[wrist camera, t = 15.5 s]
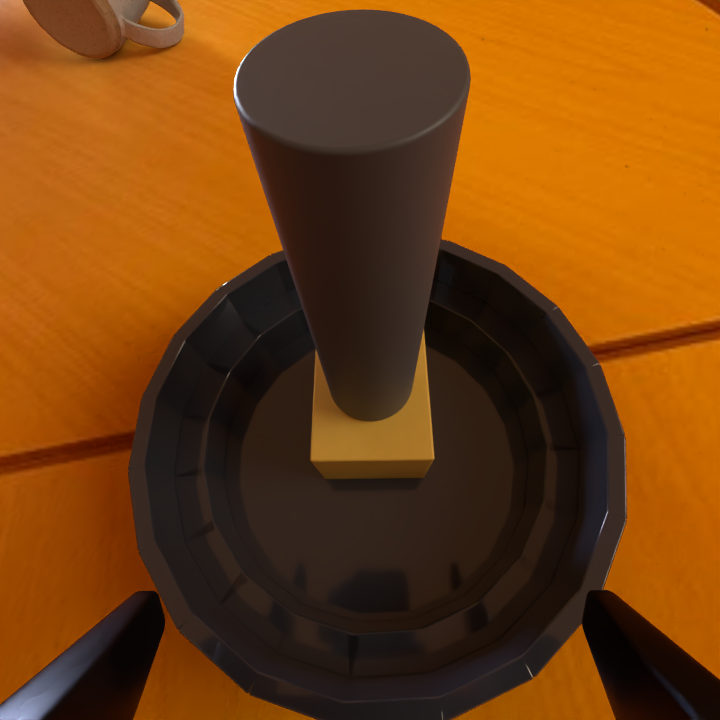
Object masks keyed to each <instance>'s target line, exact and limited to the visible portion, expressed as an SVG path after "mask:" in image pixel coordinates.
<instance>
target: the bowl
mask: <svg viewBox="0 0 720 720" xmlns="http://www.w3.org/2000/svg"><path fill="white" fill-rule="evenodd" d="M424 336H425V349H426V361H427V373H428V385H429V397H430V409H431V422H432V434H433V446H434V460H433V462H432V464H431V465H430V467H429V469H428V471H427V472H426V474H425V476H424V477H423V478H377V479H325V478H324V477H323V476H322V474H321V473H320V472H319V471H318V470H317V468H316V467H315V466H314V465H313V463H312V462H311V460H310V453H311V433H312V413H313V393H314V373H315V353H316V348H315V345H314V342H313V339H312V336H311V333H310V330H309V326H308V323H307V320H306V317H305V314H304V311H303V308H302V305H301V302H300V299H299V296H298V293H297V290H296V287H295V284H294V281H293V278H292V275H291V272H290V269H289V266H288V263H287V260H286V256H285V253H284V250H283V251H280V252H277V253H274V254H271V256H270V255H269V256H267V257H266V258H264V259H263V260H261V261H259V262H258V263H256V264H255V265H253V266H252V267H250V268H248V269H247V270H245V271H244V272H242V273H241V274H239V275H237V276H236V277H234V278H233V279H231V280H230V281H228V282H226V283H225V284H223V285H222V286H220V287H219V289H218V288H217V289H216V290H215V291H214V292H213V293H212V295H211V296H210V297H209V298H208V299H207V300H206V301H205V302H204V303H203V304H202V305H201V306H200V307H199V309H198V310H197V311H196V312H195V313H194V314H193V315H192V316H191V317H190V318H189V319H188V320H187V321H186V323H185V324H184V325H183V326H182V327H181V328H180V329H179V330H178V331H177V332H176V333H175V334H174V336H173V338H172V340H171V341H170V343H169V345H168V347H167V349H166V351H165V353H164V355H163V357H162V359H161V361H160V363H159V365H158V367H157V369H156V370H155V372H154V374H153V376H152V378H151V380H150V382H149V384H148V386H147V388H146V390H145V392H144V394H143V396H142V397H143V398H142V399H141V403H140V409H139V414H138V419H137V425H136V430H135V435H134V440H133V446H132V451H131V456H130V462H129V467H128V470H129V471H128V476H129V484H130V492H131V500H132V507H133V515H134V523H135V531H136V539H137V547H138V550H139V554H140V556H141V558H142V560H143V562H144V564H145V566H146V568H147V570H148V572H149V574H150V576H151V578H152V580H153V582H154V584H155V586H156V588H157V590H158V592H159V594H160V596H161V598H162V600H163V602H164V604H165V606H166V608H167V610H168V612H169V614H170V616H171V618H172V620H173V622H174V624H175V626H176V628H177V629H178V630H179V632H180V633H181V634H182V635H183V636H184V637H186V638H187V639H188V640H189V641H190V642H191V643H192V644H193V645H194V646H195V647H197V648H198V649H199V650H200V651H201V652H202V653H203V654H204V655H205V656H206V657H208V658H209V659H210V660H211V661H212V662H213V663H214V664H215V665H216V666H217V667H219V668H220V669H221V670H222V671H223V672H224V673H225V674H226V675H227V676H228V677H230V678H231V679H232V680H233V681H234V682H235V683H236V684H237V685H238V686H239V687H241V688H242V689H243V690H244V691H245V692H246V693H249V694H250V695H251V696H253V697H256V698H259V699H262V700H264V701H267V702H270V703H273V704H275V705H278V706H281V707H284V708H286V709H289V710H292V711H295V712H297V713H300V714H303V715H306V716H308V717H311V718H314V719H317V720H452V719H454V718H456V717H458V716H460V715H462V714H464V713H466V712H468V711H470V710H472V709H474V708H476V707H478V706H480V705H482V704H484V703H486V702H488V701H490V700H492V699H494V698H496V697H498V696H500V695H502V694H504V693H506V692H508V691H510V690H512V689H514V688H516V687H518V686H520V685H522V684H524V683H526V682H528V681H530V680H532V679H533V676H534V677H536V676H537V675H538V674H539V672H540V671H541V670H542V669H543V668H544V667H545V665H546V664H547V663H548V662H549V661H550V660H551V658H552V657H553V656H554V655H555V654H556V653H557V651H558V650H559V649H560V648H561V647H562V646H563V645H564V643H565V642H566V641H567V640H568V639H569V638H570V636H571V635H572V634H573V633H574V632H575V631H576V629H577V628H578V627H579V626H580V625H581V624H582V617H583V612H584V607H585V601H586V596H587V593H588V592H589V591H590V590H603V588H604V585H605V582H606V579H607V576H608V573H609V571H610V568H611V565H612V562H613V559H614V556H615V553H616V550H617V547H618V545H619V542H620V539H621V536H622V533H623V530H624V527H625V524H626V520H625V519H626V518H627V496H626V438H625V437H624V436H625V434H624V431H623V428H622V425H621V422H620V419H619V416H618V414H617V411H616V408H615V405H614V402H613V399H612V396H611V393H610V391H609V388H608V385H607V382H606V379H605V376H604V373H603V371H602V368H601V365H599V362H598V360H597V359H596V358H595V356H594V355H593V353H592V352H591V351H590V349H589V348H588V347H587V345H586V344H585V342H584V341H583V340H582V338H581V337H580V336H579V334H578V333H577V332H576V330H575V329H574V327H573V326H572V325H571V323H570V322H569V321H568V319H567V318H566V316H565V315H564V314H563V312H562V311H561V310H560V308H559V307H558V306H557V305H556V304H554V303H553V302H552V301H551V300H549V299H548V298H547V297H545V296H544V295H543V294H542V293H540V292H539V291H538V290H537V289H535V288H534V287H533V286H531V285H530V284H529V283H528V282H526V281H525V280H524V279H523V278H521V277H520V276H519V275H517V274H516V273H515V272H514V271H512V270H511V269H510V268H509V267H507V266H506V265H504V264H501V263H499V262H497V261H495V260H492V259H490V258H488V257H485V256H483V255H481V254H478V253H476V252H474V251H471V250H469V249H467V248H465V247H462V246H460V245H458V244H455V243H453V242H451V241H447V240H440V245H439V251H438V256H437V261H436V266H435V272H434V277H433V282H432V287H431V293H430V298H429V303H428V308H427V314H426V319H425V324H424Z"/></svg>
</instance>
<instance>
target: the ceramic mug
mask: <svg viewBox="0 0 720 720" xmlns="http://www.w3.org/2000/svg"><path fill="white" fill-rule="evenodd" d="M150 1H152V2H154V3H155V4H157V5H159V6H160V7H162V8H163V9H165V10H166V11H167V12H169V13H170V14H171V15H172V16H173V17H174V18H175V19H176V21H177V22H176V23H175V24H174V25H172V26H171V27H167V28H163V29H155V28H149V27H145V26H143V25H139V24H137V23H138V21H139V20H140V18H141V17H142V15H143V13H144V12H145V10H146V9H147V7H148V5H149V2H150ZM23 2H24V4H25V5H26V7H27V9H28V10H29V12H30V14H31V15H32V16H33V18H34V19H35V20H36V21H37V23H38V24H39V25H40V26H41V27H42V28H43V29H44V30H45V31H46V32H47V33H48V34H49V35H50V36H51V37H52V38H53V39H55V40H56V41H57V42H59V43H60V44H61V45H63V46H64V47H66V48H68V49H70V50H71V51H73V52H75V53H77V54H80V55H82V56H86V57H90V58H106V57H108V56H111V55H112V54H114V53H115V52H116V51H117V50H118V49H120V48H121V47H122V46H123V44H124V43H125V41H126V40H127V39H130V40H132V41H133V42H136V43H138V44H141V45H145V46H149V47H154V48H167V47H170V46H172V45H176V44H177V43H178V42H180V40H181V38H182V36H183V33H184V14H183V11H182V8H181V6H180V5H179V3H178V2H177V1H176V0H23Z"/></svg>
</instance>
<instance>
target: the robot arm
mask: <svg viewBox="0 0 720 720" xmlns="http://www.w3.org/2000/svg"><path fill="white" fill-rule="evenodd" d="M582 625H583V630H584V633H585V636H586V639H587V642H588V644H589V647H590V650H591V653H592V655H593V658H594V661H595V664H596V666H597V669H598V672H599V675H600V677H601V680H602V683H603V686H604V688H605V691H606V694H607V697H608V699H609V702H610V705H611V708H612V710H613V713H614V716H615V718H616V720H720V680H719V679H718V678H717V677H716V676H715V675H713V674H712V673H711V672H710V671H708V670H707V669H706V668H705V667H704V666H702V665H701V664H700V663H699V662H697V661H696V660H695V659H694V658H693V657H691V656H690V655H689V654H688V653H686V652H685V651H684V650H683V649H682V648H680V647H679V646H678V645H677V644H675V643H674V642H673V641H672V640H671V639H669V638H668V637H667V636H666V635H665V634H663V633H662V632H661V631H660V630H658V629H657V628H656V627H655V626H654V625H652V624H651V623H650V622H649V621H647V620H646V619H645V618H644V617H643V616H641V615H640V614H639V613H638V612H636V611H635V610H634V609H633V608H632V607H630V606H629V605H628V604H627V603H625V602H624V601H623V600H622V599H621V598H619V597H618V596H617V595H616V594H614V593H613V592H611V591H608V590H590V591H589V592H588V593H587V596H586V601H585V607H584V612H583V617H582ZM164 627H165V617H164V613H163V609H162V606H161V602H160V598H159V595H158V593H156V592H155V591H138V592H136V593H134V594H133V595H131V596H130V597H129V598H128V599H127V600H125V601H124V602H123V603H122V604H121V605H119V606H118V607H117V608H116V609H115V610H113V611H112V612H111V613H110V614H108V615H107V616H106V617H105V618H104V619H102V620H101V621H100V622H99V623H98V624H96V625H95V626H94V627H93V628H92V629H90V630H89V631H88V632H87V633H86V634H84V635H83V636H82V637H81V638H80V639H78V640H77V641H76V642H75V643H74V644H72V645H71V646H70V647H69V648H67V649H66V650H65V651H64V652H63V653H61V654H60V655H59V656H58V657H57V658H55V659H54V660H53V661H52V662H51V663H49V664H48V665H47V666H46V667H45V668H43V669H42V670H41V671H40V672H39V673H37V674H36V675H35V676H34V677H33V678H31V679H30V680H29V681H28V682H26V683H25V684H24V685H23V686H22V687H20V688H19V689H18V690H17V691H16V692H14V693H13V694H12V695H11V696H10V697H8V698H7V699H6V700H5V701H4V702H2V703H1V704H0V720H133V718H134V715H135V712H136V710H137V707H138V704H139V701H140V698H141V696H142V693H143V690H144V687H145V684H146V681H147V678H148V675H149V672H150V669H151V666H152V663H153V661H154V658H155V655H156V652H157V649H158V646H159V643H160V640H161V637H162V634H163V631H164Z"/></svg>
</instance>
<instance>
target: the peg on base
mask: <svg viewBox="0 0 720 720" xmlns="http://www.w3.org/2000/svg"><path fill="white" fill-rule="evenodd" d="M470 80H471V78H470V69H469V64H468V61H467V58H466V56H465V54H464V52H463V50H462V48H461V47H460V46H459V45H458V43H457V42H456V41H455V40H454V39H453V38H452V37H451V36H449V35H448V34H447V33H446V32H444V31H443V30H441V29H440V28H438V27H436V26H434V25H432V24H430V23H428V22H426V21H424V20H421V19H418V18H416V17H412V16H409V15H405V14H400V13H395V12H389V11H381V10H346V11H336V12H330V13H324V14H320V15H316V16H312V17H308V18H305V19H302V20H299V21H296V22H294V23H292V24H289V25H287V26H285V27H283V28H281V29H279V30H277V31H275V32H273V33H272V34H270V35H269V36H267V37H265V38H264V39H263V40H262V41H260V42H259V43H258V44H256V45H255V46H254V47H253V48H252V49H251V50H250V51H249V52H248V54H247V55H246V56H245V58H244V59H243V60H242V62H241V64H240V66H239V68H238V70H237V73H236V76H235V81H234V91H233V92H234V101H235V104H236V107H237V110H238V113H239V116H240V120H241V123H242V126H243V129H244V132H245V135H246V138H247V141H248V144H249V147H250V150H251V153H252V156H253V159H254V162H255V165H256V168H257V171H258V174H259V177H260V180H261V183H262V186H263V190H264V193H265V196H266V199H267V202H268V205H269V208H270V211H271V214H272V217H273V220H274V223H275V226H276V229H277V232H278V235H279V238H280V241H281V244H282V247H283V250H284V253H285V256H286V260H287V263H288V266H289V269H290V272H291V275H292V278H293V281H294V284H295V287H296V290H297V293H298V296H299V299H300V302H301V305H302V308H303V311H304V314H305V317H306V320H307V323H308V326H309V330H310V333H311V336H312V339H313V342H314V345H315V348H316V353H315V373H314V393H313V413H312V433H311V453H310V460H311V462H312V463H313V465H314V466H315V467H316V468H317V470H318V471H319V472H320V473H321V474H322V476H323V477H324V478H325V479H377V478H423V477H424V476H425V474H426V472H427V471H428V469H429V467H430V465H431V464H432V462H433V460H434V446H433V434H432V422H431V409H430V397H429V385H428V373H427V361H426V349H425V336H424V324H425V319H426V314H427V308H428V303H429V298H430V293H431V287H432V282H433V277H434V272H435V266H436V261H437V256H438V251H439V245H440V240H441V235H442V230H443V224H444V219H445V214H446V209H447V203H448V198H449V193H450V188H451V182H452V177H453V172H454V167H455V161H456V156H457V151H458V146H459V140H460V135H461V130H462V125H463V119H464V114H465V109H466V104H467V98H468V93H469V87H470Z"/></svg>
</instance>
